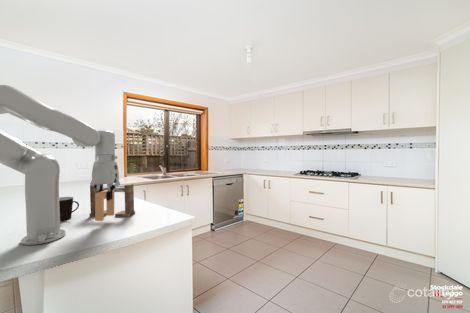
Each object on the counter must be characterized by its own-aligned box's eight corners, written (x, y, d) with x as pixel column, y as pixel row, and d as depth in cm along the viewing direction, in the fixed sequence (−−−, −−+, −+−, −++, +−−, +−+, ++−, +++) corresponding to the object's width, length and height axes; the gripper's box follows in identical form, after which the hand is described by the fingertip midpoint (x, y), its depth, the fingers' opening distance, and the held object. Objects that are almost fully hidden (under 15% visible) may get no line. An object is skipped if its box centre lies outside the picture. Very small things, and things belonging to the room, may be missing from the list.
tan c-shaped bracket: (114, 214, 103) (114, 189, 103) (102, 220, 94) (102, 193, 94) (108, 214, 103) (108, 189, 103) (95, 220, 94) (95, 193, 94)
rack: (135, 213, 114) (134, 183, 114) (129, 217, 108) (128, 185, 108) (97, 213, 115) (96, 183, 115) (89, 216, 109) (88, 185, 109)
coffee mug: (47, 220, 104) (46, 199, 103) (68, 215, 111) (67, 196, 111) (60, 224, 98) (59, 202, 98) (81, 219, 106) (80, 198, 105)
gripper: (127, 158, 102) (127, 198, 102) (93, 158, 102) (93, 197, 102) (118, 159, 94) (118, 201, 94) (81, 158, 95) (81, 201, 95)
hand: (105, 199), depth 98 cm, fingers closed on tan c-shaped bracket, 3 cm apart
